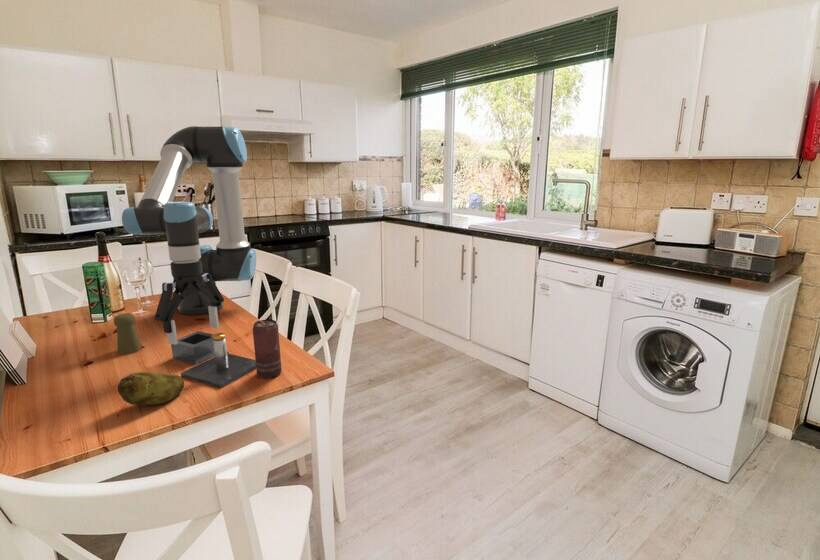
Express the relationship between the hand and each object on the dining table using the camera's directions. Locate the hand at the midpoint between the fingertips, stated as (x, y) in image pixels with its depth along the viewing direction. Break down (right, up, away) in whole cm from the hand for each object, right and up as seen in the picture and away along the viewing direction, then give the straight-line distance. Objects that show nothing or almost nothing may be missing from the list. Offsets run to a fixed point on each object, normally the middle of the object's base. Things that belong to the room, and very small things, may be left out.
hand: (194, 335), depth 123 cm
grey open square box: (0, -6, +2) cm, 6 cm away
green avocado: (+2, -13, -23) cm, 26 cm away
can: (+24, -9, -9) cm, 27 cm away
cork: (-22, -5, +5) cm, 23 cm away
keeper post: (+11, -8, -7) cm, 16 cm away
